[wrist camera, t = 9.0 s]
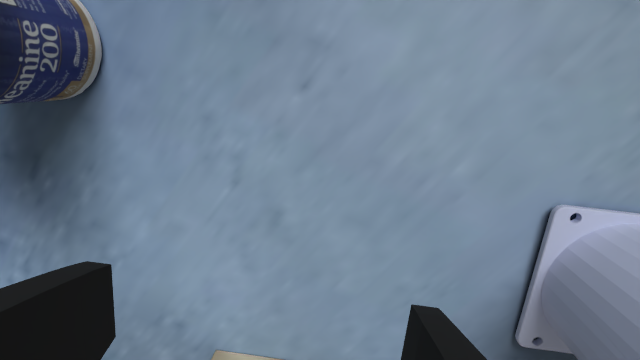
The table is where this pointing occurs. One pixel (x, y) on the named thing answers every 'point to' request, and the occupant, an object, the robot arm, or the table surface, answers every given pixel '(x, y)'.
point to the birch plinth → (237, 356)
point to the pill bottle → (46, 50)
